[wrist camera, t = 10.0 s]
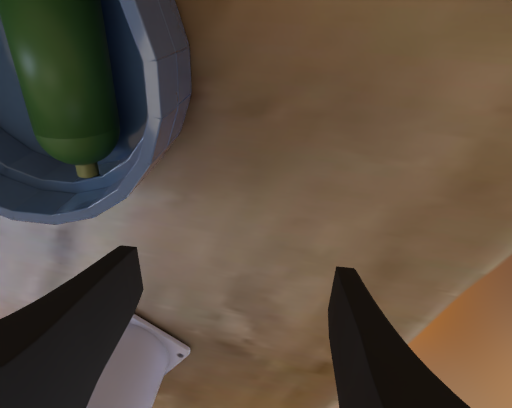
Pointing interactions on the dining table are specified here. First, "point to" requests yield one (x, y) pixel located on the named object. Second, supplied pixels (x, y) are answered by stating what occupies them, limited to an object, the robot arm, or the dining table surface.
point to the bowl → (129, 110)
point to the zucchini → (65, 77)
